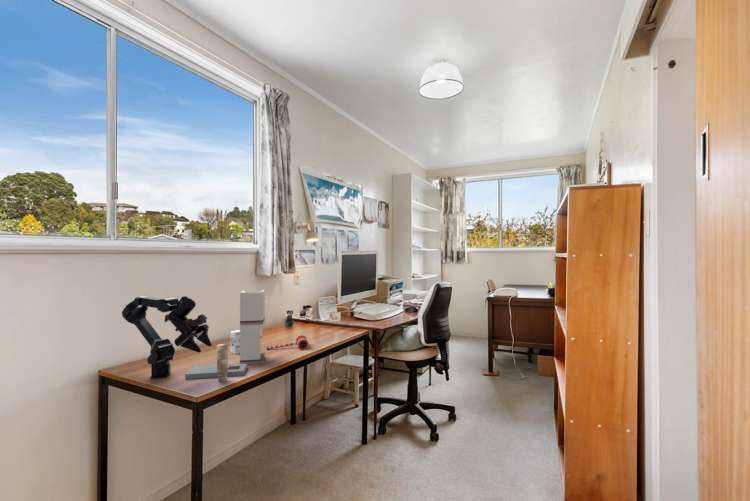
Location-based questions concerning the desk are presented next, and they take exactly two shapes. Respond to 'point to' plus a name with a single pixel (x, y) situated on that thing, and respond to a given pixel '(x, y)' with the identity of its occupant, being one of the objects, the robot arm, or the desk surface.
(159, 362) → the robot arm
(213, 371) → the board
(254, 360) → the tall grey banded box
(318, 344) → the desk surface
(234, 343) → the ink box
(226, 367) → the wooden leg
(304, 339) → the toy hammer
